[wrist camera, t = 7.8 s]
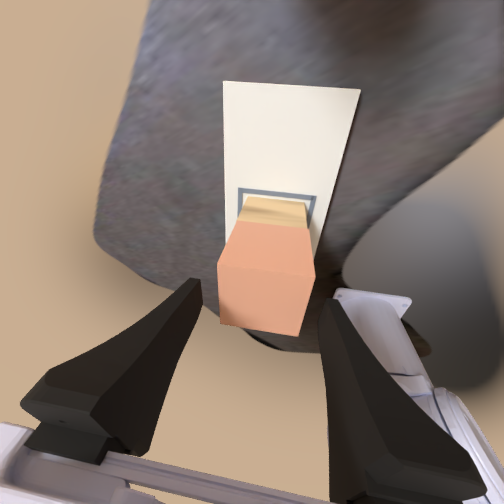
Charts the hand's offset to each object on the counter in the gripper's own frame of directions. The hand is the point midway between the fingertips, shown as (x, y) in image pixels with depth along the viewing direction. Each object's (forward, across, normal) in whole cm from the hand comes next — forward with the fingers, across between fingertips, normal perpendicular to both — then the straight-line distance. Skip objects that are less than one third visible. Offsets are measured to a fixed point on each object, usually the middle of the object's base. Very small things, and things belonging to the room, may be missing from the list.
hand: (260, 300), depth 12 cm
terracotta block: (+5, 0, 0) cm, 5 cm away
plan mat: (+10, 0, -3) cm, 11 cm away
